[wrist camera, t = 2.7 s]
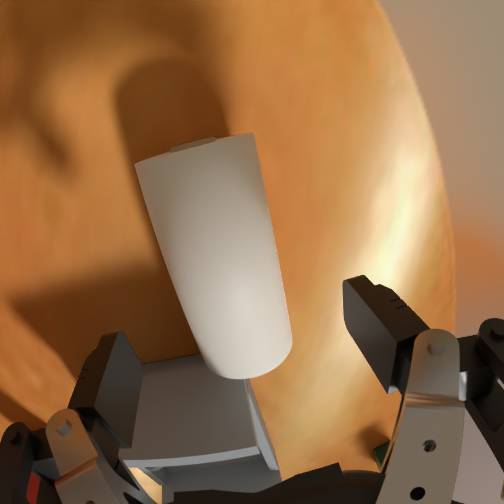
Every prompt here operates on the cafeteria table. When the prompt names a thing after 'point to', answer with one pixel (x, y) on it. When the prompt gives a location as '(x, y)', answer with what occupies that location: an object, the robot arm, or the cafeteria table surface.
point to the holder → (200, 431)
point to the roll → (220, 251)
